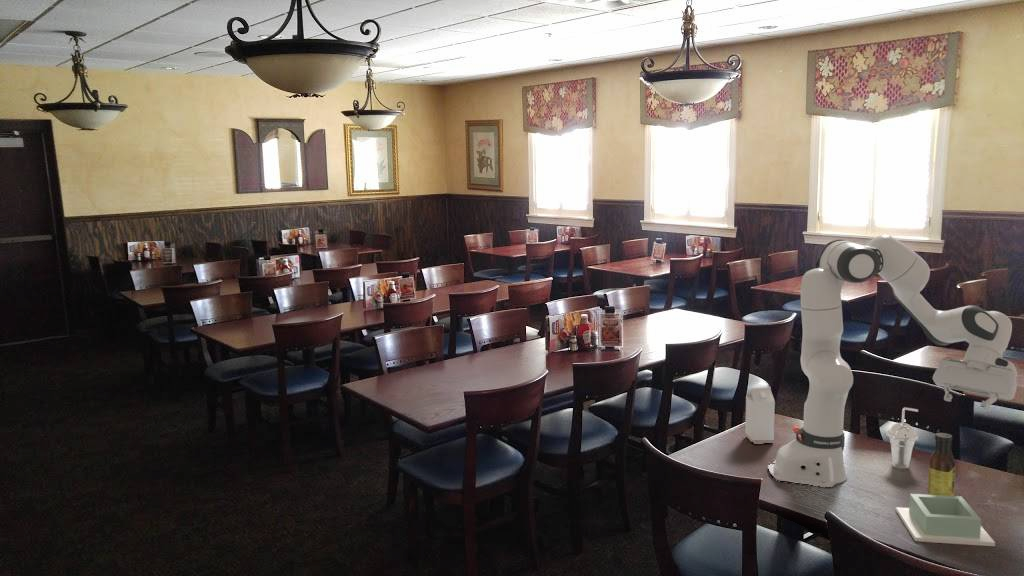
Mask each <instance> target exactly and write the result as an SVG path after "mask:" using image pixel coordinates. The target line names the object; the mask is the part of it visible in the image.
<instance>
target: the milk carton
mask: <svg viewBox="0 0 1024 576" xmlns="http://www.w3.org/2000/svg"><path fill="white" fill-rule="evenodd" d="M771 388H772V387H771V386H764V387H763V386H761V387H750V389H749V390H750V391H749V392H748V393H747V395H746V396H745V430H744V431H745V433H746V434H747V435H748V436H749V437H750V438H751V439H752V440H774V439H775V416H776V415H775V409H776V408H775V407H776V406H775V405H776V401H775V398H774V395H773V393H772V389H771ZM745 433H744V434H745ZM774 441H775V440H774Z"/></svg>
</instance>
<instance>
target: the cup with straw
mask: <svg viewBox="0 0 1024 576" xmlns="http://www.w3.org/2000/svg"><path fill="white" fill-rule="evenodd" d="M905 411H911V412H916V413H917V412H918V413H919V412H920V409H917V408H912V407H903V408H902V411H901V422H897V423H895V424H893V425H892V426H891V428H890V429H888V431H887V433H886V435H887V437H889V443H890V449H891V452H890V453H891V462H892V466H893V467H894V468H897V469H900V470H901V469H902V470H903V469H904V470H905V469H906V468H907V469H909V468H910V467H909V465H910V462H911V458H912V454H913V453H912V452H913V448H914V445H915V443H916V442H915V441H917V440H919V437H918V433H916V432H915V429H914V428H913V427H912V426H911V424H908V423H906V422H905V413H906V412H905ZM908 467H909V468H908Z"/></svg>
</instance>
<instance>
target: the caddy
mask: <svg viewBox="0 0 1024 576" xmlns="http://www.w3.org/2000/svg"><path fill="white" fill-rule="evenodd" d="M908 503H909V504H908V505H909V506H908V507H897V506H896V507H895V511H896V514H897V515H898V516H899V518H900V520H901V521H902V523H903V524H904V526H905V528H906V529H907V530H908V532H909V534H910V535H911V537H912V538H913V540H914V542H923V543H936V544H937V543H938V544H939V543H941V544H953V545H968V546H985V547H996V542H995V540H994V539H993V538H992V537H991V536H990V535H989V533H988V532H987V531H986V530H985V529H984V527H983V526H982V518H981V517H980V516H979V515H978V514H977V513H976V511H974V509H973V508H972V507H971V506H970V504H969V503H968V502H967V501H966V500H965V498H964V497H963V496H962V495H961V496H959V495H954V496H944V495H928V494H922V493H909V502H908Z"/></svg>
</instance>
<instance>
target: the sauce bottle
mask: <svg viewBox="0 0 1024 576" xmlns="http://www.w3.org/2000/svg"><path fill="white" fill-rule="evenodd" d="M934 440H935V447H934V451H933V452H932V453H931V454H930V457H929V466H928V482H927V483H928V484H927V495H944V496H955V481H956V466H957V464H956V461H955V458H954V454H953V452H952V442H953V435H952V434H950V433H945V432H936V433H935V436H934Z"/></svg>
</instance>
